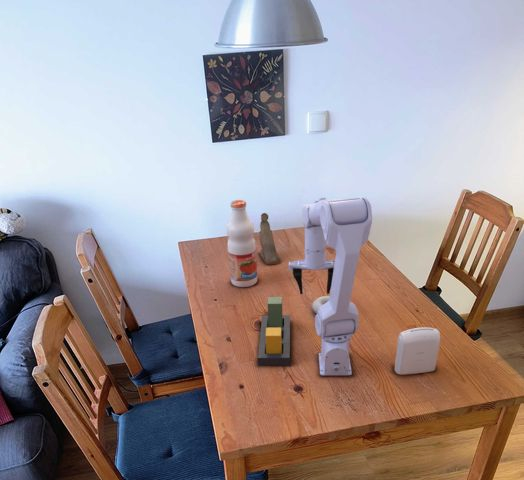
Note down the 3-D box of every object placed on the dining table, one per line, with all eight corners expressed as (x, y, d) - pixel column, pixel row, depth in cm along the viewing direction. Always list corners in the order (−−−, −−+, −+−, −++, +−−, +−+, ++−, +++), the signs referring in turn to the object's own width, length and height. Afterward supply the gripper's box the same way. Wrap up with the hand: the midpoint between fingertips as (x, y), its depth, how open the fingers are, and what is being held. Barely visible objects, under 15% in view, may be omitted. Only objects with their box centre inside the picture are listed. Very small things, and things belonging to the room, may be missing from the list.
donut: (310, 318, 146) (343, 320, 144) (310, 308, 144) (344, 310, 142) (314, 302, 154) (345, 303, 152) (314, 293, 152) (346, 294, 150)
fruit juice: (241, 273, 174) (235, 195, 157) (262, 279, 169) (258, 199, 153) (225, 284, 167) (217, 204, 151) (247, 290, 163) (241, 208, 147)
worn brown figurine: (260, 259, 189) (254, 212, 181) (273, 257, 189) (269, 210, 182) (265, 265, 178) (260, 216, 171) (280, 263, 178) (275, 213, 171)
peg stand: (289, 365, 127) (289, 357, 126) (258, 365, 128) (257, 357, 126) (290, 322, 145) (290, 315, 143) (262, 322, 145) (262, 315, 144)
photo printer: (397, 376, 121) (403, 336, 114) (391, 366, 125) (397, 326, 118) (436, 372, 122) (445, 332, 115) (430, 362, 125) (438, 322, 118)
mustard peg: (281, 360, 129) (280, 335, 125) (266, 360, 129) (265, 335, 125) (281, 351, 132) (281, 327, 128) (267, 351, 133) (266, 327, 128)
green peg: (282, 333, 140) (281, 303, 134) (268, 333, 140) (267, 303, 134) (282, 326, 143) (282, 296, 137) (269, 326, 144) (268, 296, 138)
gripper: (341, 241, 133) (339, 285, 141) (288, 242, 135) (289, 286, 142) (343, 251, 128) (340, 297, 135) (288, 253, 129) (289, 297, 137)
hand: (314, 292), depth 138 cm, fingers open, 7 cm apart
